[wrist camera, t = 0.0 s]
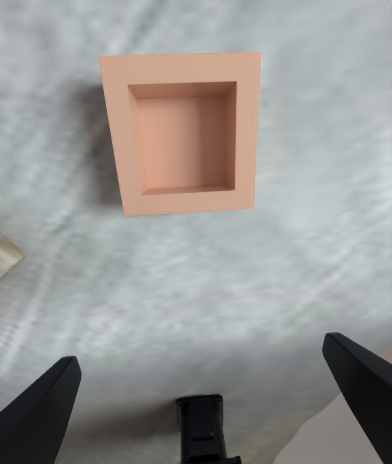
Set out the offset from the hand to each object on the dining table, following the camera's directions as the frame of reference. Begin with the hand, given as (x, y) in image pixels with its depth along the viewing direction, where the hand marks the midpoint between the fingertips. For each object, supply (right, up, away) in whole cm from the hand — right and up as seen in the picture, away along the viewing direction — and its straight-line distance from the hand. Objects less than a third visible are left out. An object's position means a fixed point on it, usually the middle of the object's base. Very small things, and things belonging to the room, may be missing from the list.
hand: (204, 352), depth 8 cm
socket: (-1, +12, +11) cm, 17 cm away
